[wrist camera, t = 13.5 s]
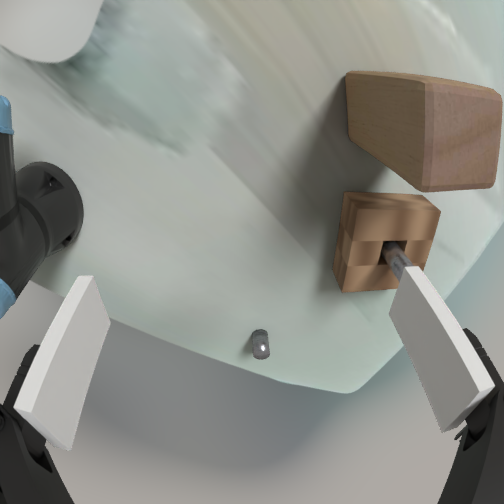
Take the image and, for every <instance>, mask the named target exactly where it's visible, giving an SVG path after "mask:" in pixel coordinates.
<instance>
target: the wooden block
mask: <svg viewBox="0 0 504 504" xmlns="http://www.w3.org/2000/svg"><path fill="white" fill-rule="evenodd" d="M345 84H346V97H347V114H348V136H349V138H350V140H351V141H352V142H354V143H355V144H357V145H358V146H360V147H361V148H362V149H364V150H365V151H367V152H368V153H370V154H371V155H372V156H374V157H375V158H376V159H378V160H379V161H381V162H382V163H383V164H385V165H386V166H387V167H389V168H390V169H391V170H393V171H394V172H395V173H396V174H398V175H399V176H400V177H402V178H403V179H404V180H405V181H407V182H408V183H409V184H410V185H412V186H413V187H414V188H415V189H417V190H419V191H421V192H439V191H453V190H469V189H486V188H491V187H492V186H493V185H494V183H495V179H496V172H497V165H498V157H499V148H500V137H501V124H502V98H501V95H500V94H498V93H497V92H496V91H495V90H494V89H491V88H487V87H483V86H479V85H474V84H469V83H465V82H459V81H454V80H449V79H443V78H437V77H430V76H423V75H415V74H407V73H394V72H376V71H350V72H348V73H346V77H345Z"/></svg>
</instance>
